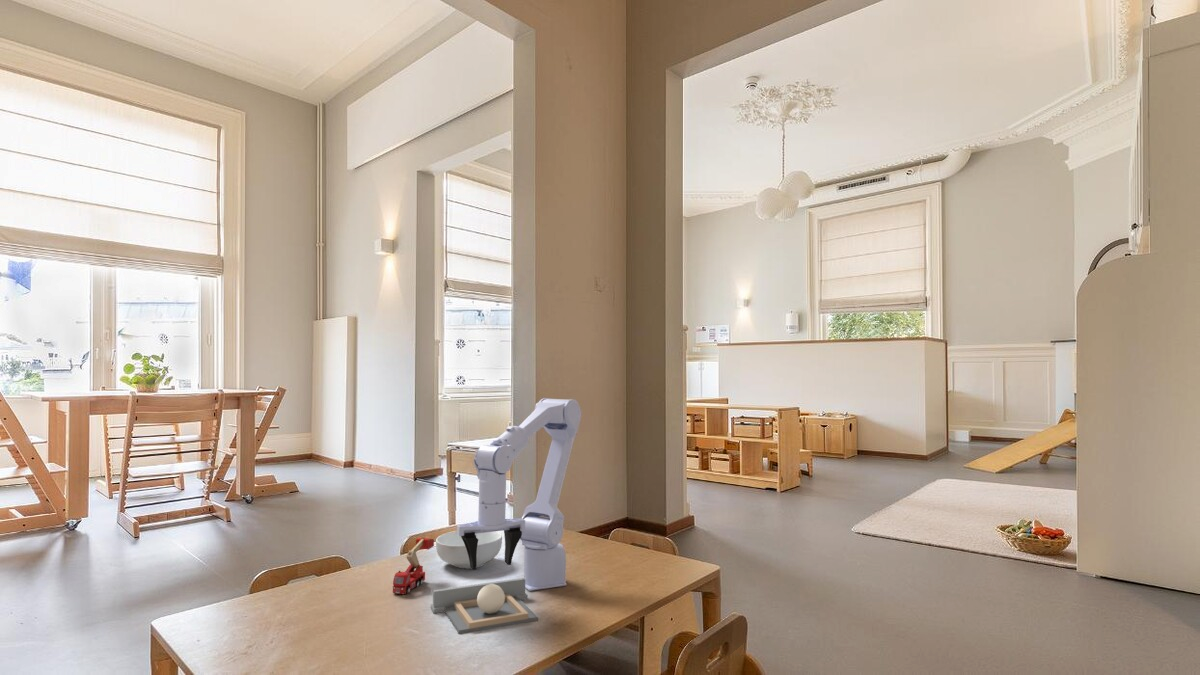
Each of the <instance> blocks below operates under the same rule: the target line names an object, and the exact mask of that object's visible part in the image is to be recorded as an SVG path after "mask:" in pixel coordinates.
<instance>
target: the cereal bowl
mask: <svg viewBox="0 0 1200 675" xmlns="http://www.w3.org/2000/svg"><path fill="white" fill-rule="evenodd" d="M475 535H476V538H477V539H478V545H477V554H476V558H477V566H476V568H481V567H482V566H484V565H485V564H486V563H487V562H489V561H491V560H493V559H494V558H496V557H497V555H498V554H499V553H500V551H501V549H502V545H503V536H502V533H500V532H499V531H494V532H485V533H476V534H475ZM435 547H436V553H437V555H438V557H439V558H440V560H442V561H443V562H444V563H446V564H449V565H452V566H454V567H455V568H457V567H458V569H464V568H466V569H471V568H470V561H469V556H468V553H467V549H466V547H465V544H464V542H463V540H462V538H461V536H459V535H458V534H457V530H453V531H449V532H446V533H442V534H440V535H439V536H437V537H436V539H435Z"/></svg>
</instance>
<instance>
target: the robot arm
mask: <svg viewBox="0 0 1200 675" xmlns="http://www.w3.org/2000/svg"><path fill="white" fill-rule="evenodd" d="M582 415H583V414H582V410H581V407H580V404H579V402H578V400H576V399H574V398H570V399H566V398H565V399H562V398H561V399H560V398H559V399H558V398H548V397H543V398H542V399H540V400H539V401H538V402H536V404H535V407H534V410H533V411H532V412H531V413H530V414H529V415H528V416H527V417H525V419H524V420H523V421H522V423H520V424H519V425H508V426H507V427H506V428H505V431H504V432H503V433H502V434H501V435H499V436H498V437H496V438H494V439H493V441H492V442H491V443H490V444H484V445H481V446H480V447H479V448H478V449H477V450H476V452H475V455H474V458H473V460H472V461H473V465H474V468H475V469H476V474H477V475H476V477H477V479H478V482H479V483H478V513H477V514H478V515H477V516H478V520H477V521H473V522H467V523H461V524H457V525H456V531H457V534H458V535H459V536H461V538H462V540H463V542H464V544H465V547H466V549H467V553H468V556H469V561H470V568H469V569H471V570H472V571H476V570H477V567H476V566H477V558H476V554H477V545H478V539H477V538H476V535H475V534H476V533H485V532H494V531H496V532H502V531H503V534H504V563H505V564H506V565H508V566H511V565H512V561H513V557H514V554H515V551H516V547H517V546H518V543H519V541H521V546H524V556H523V557H524V558H523V578H525V579H526V580H525V590H527V591H530V592H531V591H537V590H544V589H550V588H551V589H552V588H556V587H557V588H559V587H564V586H567V582H566V572H567V571H566V570H567V569H566V566H567V564H566V562H567V558H566V557H567V556H566V554H567V553H566V550H565V547H564V545H563V544H562V543H561V541H562V538H563V536H564V520H565V516H564V514H563V513H562V512H561V510H560V509H559V507H558V504H559V501H560V497H561V493H562V489H563V485H564V480H565V477H566V472H567V469H568V465H569V461H570V457H571V453H572V450H573V445H574V441H575V437H576V435H577V433H578V431H579V426H580V422H581V418H582ZM542 428H544V430H545V432H546V433H547V434H548V435H549V436H550V437H551V443H550V447H549V450H548V454H547V456H546V461H545V465H544V469H543V473H542V476H541V480H540V484H539V488H538V492H537V493H536V499H535V501H534V502H532V503H530V504H529V505H528V506H526V507H525V508H524V511H523V515H522V517H519V518H506V510H507V509H506V499H507V496H506V495H507V472H509V471H510V470H511V468H512V465H513V463H514V461H515V458H516V457H517V456H518V455H519V454H520V453H521V452H522V451H523V450H524V449H525V448H527V446H528V445H529V443H530V439H529V438H530V437H532V436H533V435H534V434H536V433H537V432H539V431H540V430H541V429H542Z"/></svg>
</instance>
